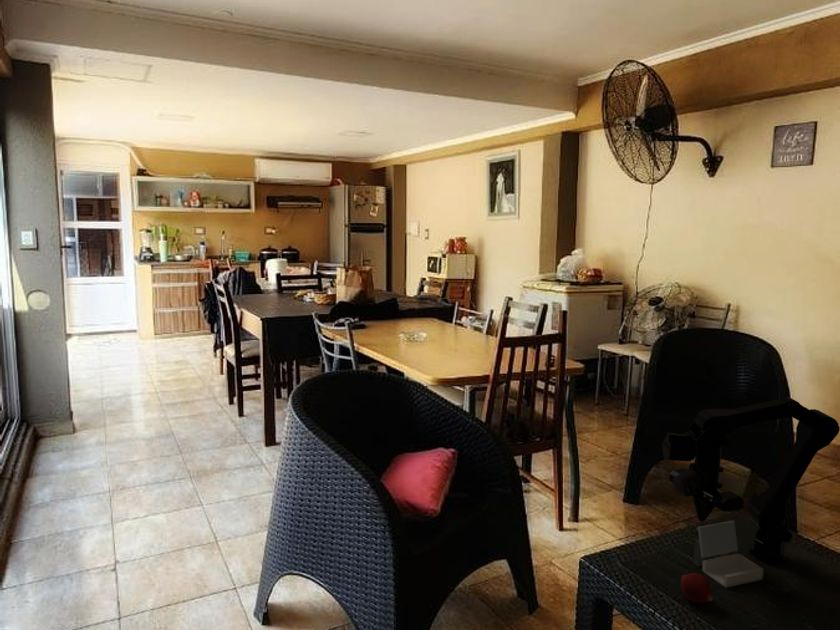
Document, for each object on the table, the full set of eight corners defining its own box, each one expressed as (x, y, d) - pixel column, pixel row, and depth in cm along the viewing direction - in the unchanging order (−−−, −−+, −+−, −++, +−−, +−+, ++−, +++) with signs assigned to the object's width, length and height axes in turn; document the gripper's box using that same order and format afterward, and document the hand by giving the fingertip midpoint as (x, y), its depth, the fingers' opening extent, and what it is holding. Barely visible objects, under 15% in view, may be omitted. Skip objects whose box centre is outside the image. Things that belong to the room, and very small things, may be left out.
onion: (690, 585, 138) (719, 609, 131) (671, 591, 136) (699, 615, 129) (694, 563, 137) (723, 586, 130) (674, 568, 134) (703, 592, 127)
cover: (737, 550, 148) (733, 549, 149) (734, 521, 149) (729, 520, 150) (703, 557, 145) (699, 556, 146) (700, 527, 145) (696, 526, 147)
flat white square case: (726, 556, 152) (729, 533, 151) (762, 579, 142) (765, 555, 141) (691, 563, 148) (693, 540, 147) (726, 587, 138) (728, 563, 137)
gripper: (654, 451, 156) (649, 508, 158) (710, 480, 138) (704, 544, 140) (689, 447, 159) (684, 503, 161) (748, 475, 142) (741, 537, 144)
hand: (701, 521), depth 152 cm, fingers closed
